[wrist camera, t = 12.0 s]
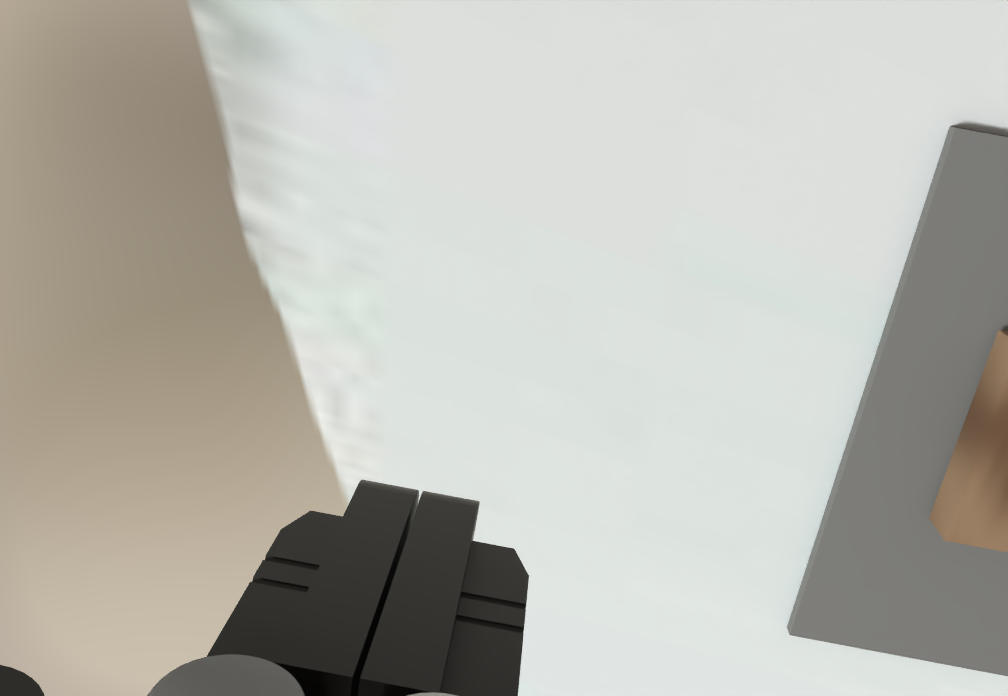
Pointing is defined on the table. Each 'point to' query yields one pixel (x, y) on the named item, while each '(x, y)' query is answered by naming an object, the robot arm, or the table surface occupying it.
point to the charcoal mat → (921, 441)
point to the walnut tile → (980, 464)
